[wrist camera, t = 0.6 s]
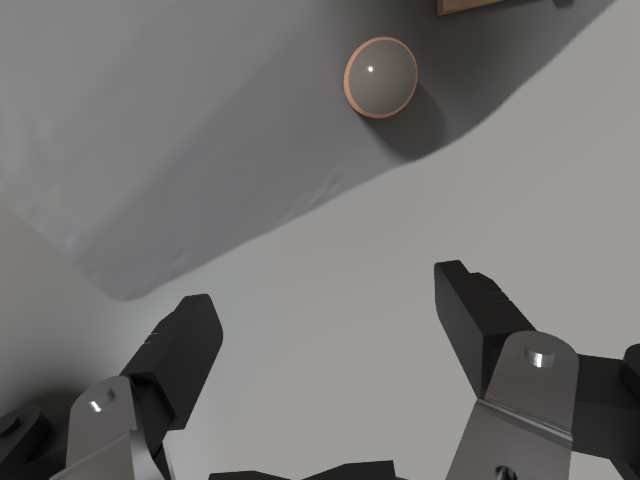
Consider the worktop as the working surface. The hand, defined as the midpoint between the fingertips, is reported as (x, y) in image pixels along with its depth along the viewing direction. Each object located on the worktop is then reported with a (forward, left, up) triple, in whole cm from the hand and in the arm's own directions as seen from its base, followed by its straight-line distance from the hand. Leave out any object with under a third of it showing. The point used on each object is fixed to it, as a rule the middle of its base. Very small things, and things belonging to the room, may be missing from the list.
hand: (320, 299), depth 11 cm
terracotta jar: (-7, +5, -23) cm, 25 cm away
